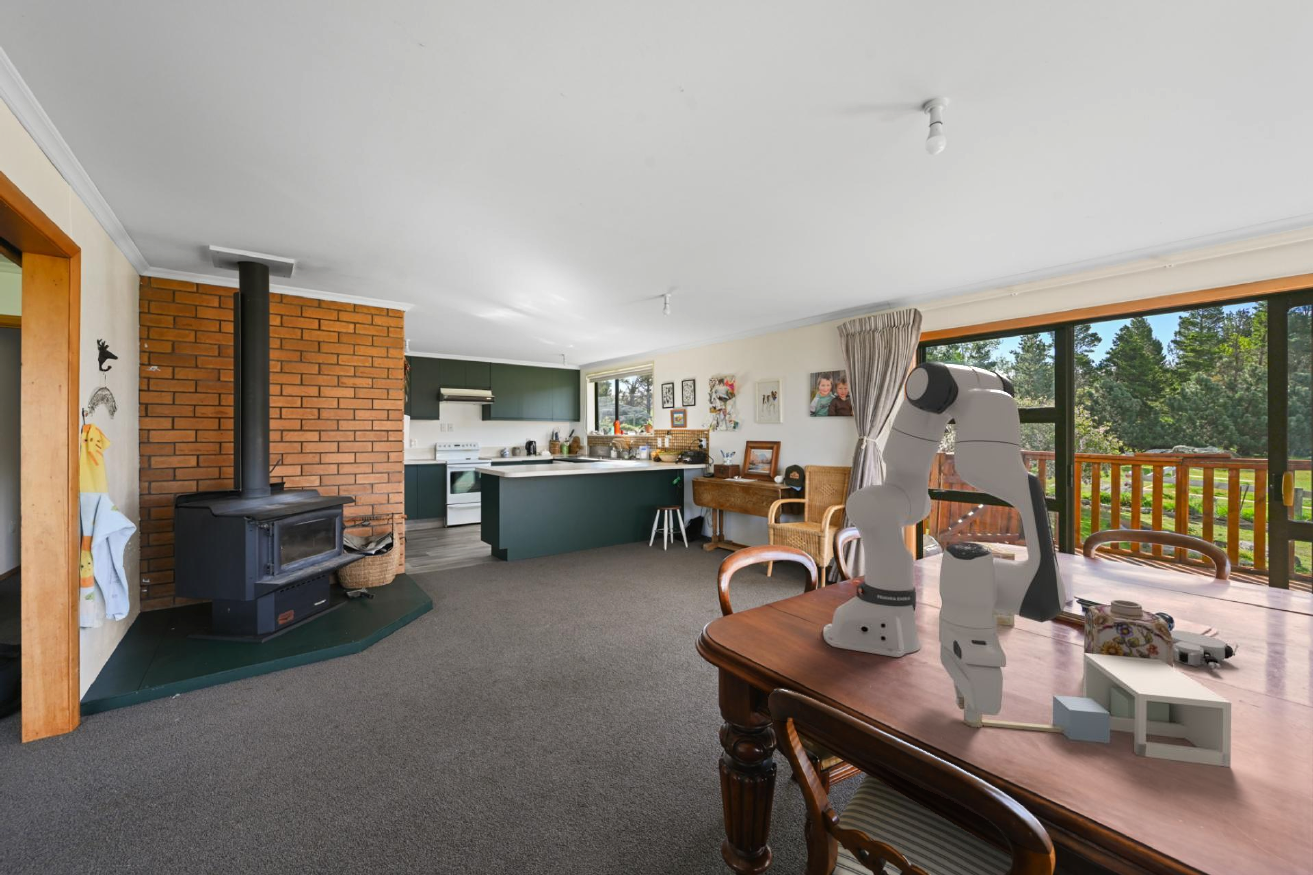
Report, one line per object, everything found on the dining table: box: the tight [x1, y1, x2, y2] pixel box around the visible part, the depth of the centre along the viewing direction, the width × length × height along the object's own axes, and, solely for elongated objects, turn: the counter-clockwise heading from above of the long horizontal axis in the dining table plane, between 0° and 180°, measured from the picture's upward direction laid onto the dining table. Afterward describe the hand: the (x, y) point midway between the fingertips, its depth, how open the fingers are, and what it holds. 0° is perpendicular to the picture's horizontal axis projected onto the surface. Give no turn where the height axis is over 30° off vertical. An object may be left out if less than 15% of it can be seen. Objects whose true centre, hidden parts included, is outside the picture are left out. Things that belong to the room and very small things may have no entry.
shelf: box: [1082, 652, 1232, 768], centre depth 91 cm, size 12×16×10 cm
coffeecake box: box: [970, 541, 1016, 627], centre depth 149 cm, size 15×7×20 cm, turn 172°
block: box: [1110, 687, 1169, 723], centre depth 94 cm, size 6×5×5 cm
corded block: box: [963, 694, 1111, 744], centre depth 92 cm, size 21×5×5 cm, turn 80°
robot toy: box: [1169, 629, 1239, 669], centre depth 121 cm, size 12×4×15 cm
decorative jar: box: [1083, 599, 1174, 668], centre depth 105 cm, size 12×12×18 cm
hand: (966, 713), depth 94 cm, fingers closed on corded block, 3 cm apart
